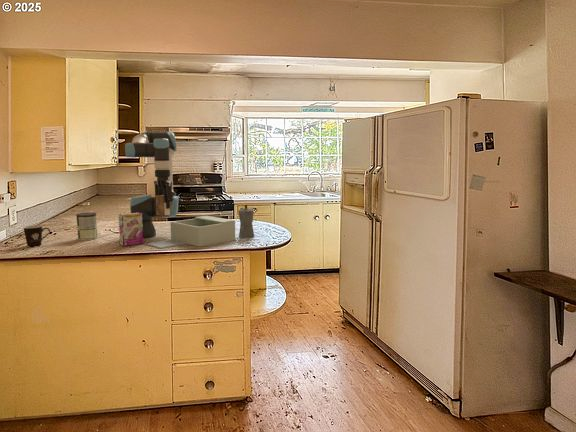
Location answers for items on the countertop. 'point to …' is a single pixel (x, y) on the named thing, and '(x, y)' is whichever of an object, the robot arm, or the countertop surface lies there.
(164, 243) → the pad
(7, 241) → the countertop surface
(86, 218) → the coffee can
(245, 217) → the coffeepot
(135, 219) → the candy bar box
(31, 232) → the coffee mug
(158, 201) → the walnut block
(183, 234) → the crate
